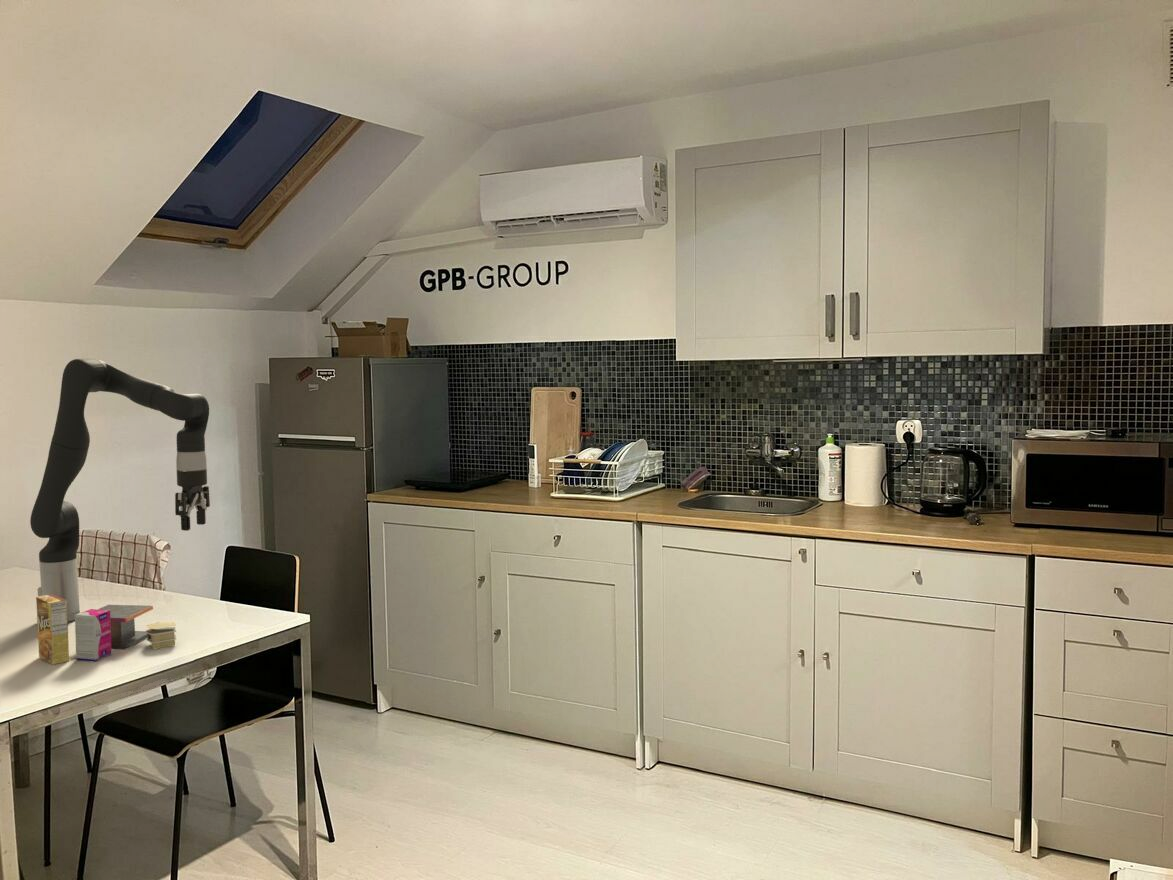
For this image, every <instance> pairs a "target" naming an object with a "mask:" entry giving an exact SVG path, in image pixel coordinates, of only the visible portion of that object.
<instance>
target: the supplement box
mask: <svg viewBox="0 0 1173 880" xmlns="http://www.w3.org/2000/svg"><path fill="white" fill-rule="evenodd" d="M74 624H75V625H74V628H75V629H74V630H75V632H74V634H75V660H76V661H80V662H81V661H82V662H83V661H84V662H98V661H99V660H101V659H104V658H106V657H109V656H112V649H111V619H110V611H109V610H97V609H94V608H90V609H88V610H87V609H86V610H85V611H82V612H80V613H79V614H76V615H75V620H74Z"/></svg>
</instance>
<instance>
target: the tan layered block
mask: <svg viewBox="0 0 1173 880" xmlns="http://www.w3.org/2000/svg"><path fill="white" fill-rule="evenodd" d="M145 627H146V628H148V629H146V630H145V631H146V632H147V635H148V638H146V639H145V640H146V641H147V642H149V643H151V649H153V648H157V649H160V648H164V647H165V646H167V647H172V646H173V645H174V646H176V642H175V640H176V641H177V636H176V634H175V632H177V630H176V622H175V621H169V622H152V623H148V624H146V625H145ZM165 648H166V647H165Z"/></svg>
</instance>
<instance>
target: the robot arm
mask: <svg viewBox="0 0 1173 880" xmlns="http://www.w3.org/2000/svg"><path fill="white" fill-rule="evenodd" d="M99 392H105V393H107V392H108V393H114V394H117V395H121V396H124V397H125V398H127V399H129V400H130V401H131V402H132V403H135V404H137V405H140V406H142V407H145V408H147V409H148V408H149V409H151V410H155V411H156V412H160V413H162V414H163V415H166V416H168V417H170V418H171V419H174V420H178V421H182V422H184V425H183V427H182V428H181V429H180V430H179V431H177V433H176V457H175V458H176V459H175V461H176V462H175V463H176V465H175V467H176V468H175V469H176V485H177V486H178V487H181V488H182V489H181V492H175V493H174V499H175V503H174V504H175V505H174V506H175V509H174V510H175V511H174V512H175V516H179V517H180V529H181V531H191V516H190V515H191V512H192V510H193V509H196V524H197V525H199V526H200V525H202V526H203V525H205V524H206V523H207V522H206V520H207V519H206V517H207V516H206V511H208V510H207V509H208V508H209V507H210V506H211V503H210V502H211V501H210V487H209V485H207V484H208V473H207V472H208V469H207V455H206V443H205V442H206V441H205V439H206V438H205V435H206V430H207V427H208V423H209V416H210V404H209V401H208V400H207V398H206V397H205V396H204V395H202V394H200V393H185V394H184V393H179V392H176V391H174V389H173V388H171V387H170V386H167V385H164V384H160V383H158V382H154V381H150V380H147V379H145V378H144V379H143V378H140V377H138V376H134V375H131V374H129V373H127V372H125V371H122V370H121V369H118V368H117V367H115V366H113V365H112V364H109V363H108V362H105V361H103V360H101V359H97V358H75V359H72V360H70V361H68V363H67V364H66V365H65V367H64V369H63V372H62V378H61V388H60V394H59V395H60V397H59V403H58V409H57V410H58V411H57V414H56V421H55V425H54V428H53V429H54V431H53V435H52V438H51V441H50V446H49V450H48V456H47V461H46V464H45V468H44V472H43V477H42V480H41V484H40V488H39V491H38V494H37V497H36V499H35V502H34V505H33V508H32V511H31V512H30V513H31V514H30V518H29V519H30V520H29V523H30V528H31V531H32V532H33V534H34V535H35V536H37V537H38V538H41V539H48V541H47V543H46V544H45V545H44V547H43V548H41V549H40V550H39V553H38V559H39V575H40V580H39V581H40V587H38V588H37V597H39V596H45V595H52V594H53V595H55V596H57V597H60V598H62V599H65V600H67V619H68V623H69V622H73V621H75V615H76V614H79V613H81V612H80V611H81V610H80V595H79V593H80V591H79V575H78V558H77V557H78V556H77V554H78V550H79V546H80V517H79V513H78V510H77V507H75V505H74V504H73V503H71V502H69V501H65V497H66V493H67V491H69V490H68V489H69V488H70V486H71V485H72V483H73V482H74V480H75V479H76V478H77V476H78V475H79V474H80V473H81V471H82V469H83V467H84V466H85V463H86V460H87V456H88V453H89V448H90V441H91V439H90V438H91V437H90V432H89V427H88V426H87V421H86V419H85V407H86V403H87V399H88V395H89V393H99ZM194 507H195V508H194Z"/></svg>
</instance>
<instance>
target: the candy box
mask: <svg viewBox="0 0 1173 880" xmlns="http://www.w3.org/2000/svg"><path fill="white" fill-rule="evenodd" d="M35 600H36V620H37V640H38V641H37V642H38V645H37V646H38V658H40V659H41V660H44V661H46V662H47V663H49V664H51V665H52V666H54V665H58V664H62V663H65V662H69V661H70V650H69V624H68V623H69V622H68V619H67V600H65V599H62V598H60V597H57V596H55V595H53V594H52V595H45V596H39V597H38V596H36V597H35Z"/></svg>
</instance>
